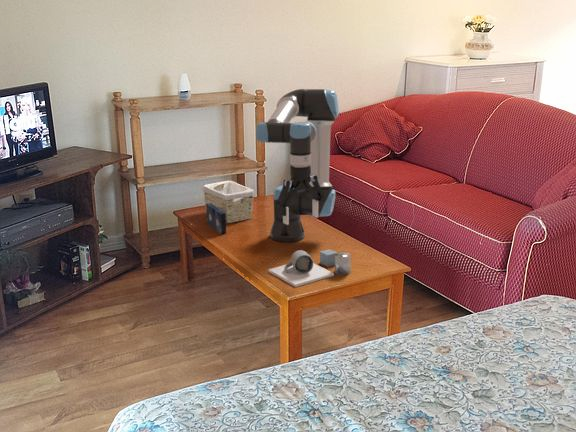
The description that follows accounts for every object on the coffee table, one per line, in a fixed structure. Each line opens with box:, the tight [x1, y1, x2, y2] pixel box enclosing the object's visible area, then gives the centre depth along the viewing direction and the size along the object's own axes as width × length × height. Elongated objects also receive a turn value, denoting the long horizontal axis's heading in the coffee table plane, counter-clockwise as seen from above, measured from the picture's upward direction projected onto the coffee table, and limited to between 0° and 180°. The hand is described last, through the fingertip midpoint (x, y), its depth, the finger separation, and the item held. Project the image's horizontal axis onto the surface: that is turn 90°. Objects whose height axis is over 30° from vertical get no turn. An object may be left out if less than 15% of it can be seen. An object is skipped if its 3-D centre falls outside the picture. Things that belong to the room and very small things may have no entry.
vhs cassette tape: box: [205, 203, 227, 235], centre depth 309 cm, size 18×3×10 cm, turn 26°
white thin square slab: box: [268, 262, 335, 288], centre depth 259 cm, size 18×18×1 cm
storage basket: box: [202, 179, 255, 224], centre depth 327 cm, size 24×16×15 cm
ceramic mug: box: [284, 249, 314, 274], centre depth 258 cm, size 11×8×8 cm
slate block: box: [319, 248, 338, 268], centre depth 268 cm, size 5×5×5 cm
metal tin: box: [334, 252, 352, 276], centre depth 259 cm, size 6×6×7 cm
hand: (300, 220), depth 252 cm, fingers open, 13 cm apart
